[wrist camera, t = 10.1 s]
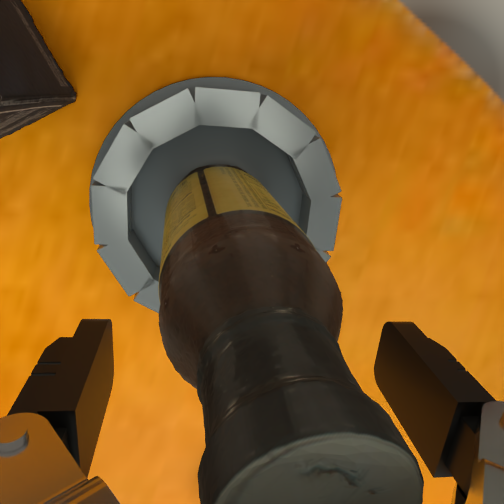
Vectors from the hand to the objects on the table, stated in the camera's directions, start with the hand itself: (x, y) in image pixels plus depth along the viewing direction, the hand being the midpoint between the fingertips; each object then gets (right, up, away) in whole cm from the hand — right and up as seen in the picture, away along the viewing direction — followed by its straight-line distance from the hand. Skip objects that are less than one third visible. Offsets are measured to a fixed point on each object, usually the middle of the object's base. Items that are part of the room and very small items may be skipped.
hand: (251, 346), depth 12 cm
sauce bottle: (-2, +5, +13) cm, 15 cm away
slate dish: (-2, +6, +14) cm, 15 cm away
